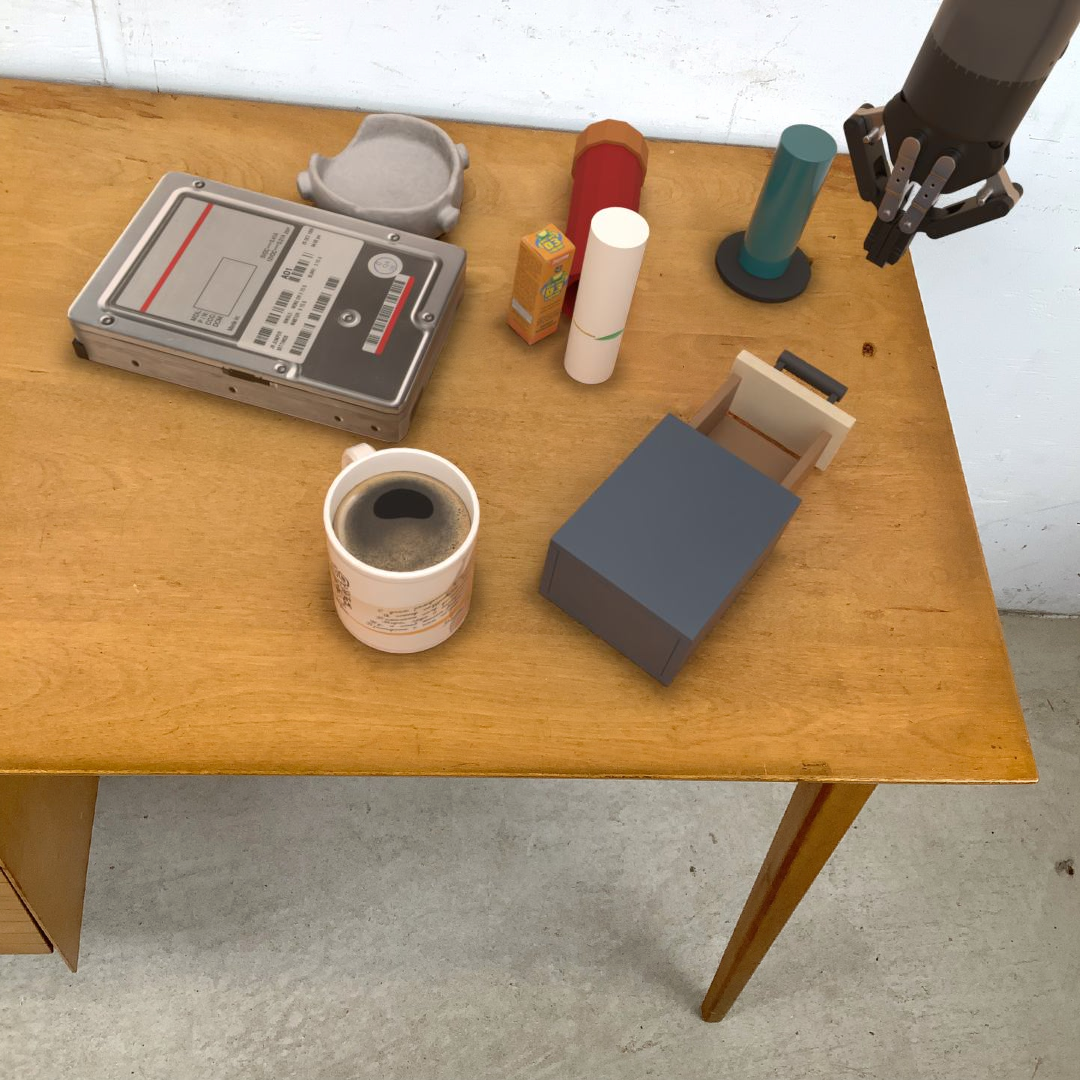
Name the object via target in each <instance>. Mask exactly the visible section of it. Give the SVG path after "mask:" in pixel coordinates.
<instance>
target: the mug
mask: <svg viewBox="0 0 1080 1080" xmlns="http://www.w3.org/2000/svg"><path fill="white" fill-rule="evenodd" d="M322 509H323V510H322V511H323V513H322V514H323V515H322V516H323V517H322V519H323V527H324V533H325V542H326V551H327V556H328V565H329V571H330V572H329V573H330V579H331V587H332V593H333V602H334V606H335V610H336V612H337V616H338V617H339V619H340V621H341V622H342V624H343V626H344V628H345V629H346V630H347V631H348V632H349V633H350V634H351V635H352V636H353V637H354V638H356V639H357V640H358V641H359V642H361V643H363V644H365V645H366V646H368V647H370V648H373V649H375V650H378V651H382V652H386V653H392V654H413V653H418V652H423V651H425V650H429V649H431V648H434V647H436V646H438V645H439V644H441V643H443V642H444V641H446V640H447V639H448V638H450V637H451V636H452V635H453V634H454V633H455V632H456V631H457V630H458V629H459V628H460V627H461V625H462V624H463V622H464V621H465V619H466V617H467V614H468V612H469V611H470V606H471V601H472V592H473V585H474V575H475V567H476V566H475V565H476V557H477V549H478V540H479V539H478V537H479V528H480V518H481V508H480V501H479V498H478V495H477V492H476V490H475V487H474V486H473V484H472V482H471V481H470V480H469V478H468V477H467V476H466V475H465V473H464V472H463V471H461V470H460V469H459V467H458V466H456V465H455V464H454V463H452V462H451V461H450V460H448V459H446V458H444V457H442V456H440V455H438V454H435V453H432V452H430V451H427V450H422V449H419V448H413V447H412V448H409V447H393V448H391V447H390V448H386V449H385V448H384V449H380V450H376V448H374V447H373V446H372V445H370V444H368V443H367V442H360V443H358V444H355V445H353V446H350V447H347V448H345V449H344V451H343V453H342V455H341V471H340V472H339V474H338V475H337V476H336V477H335V478H334V480H333V482H332V483H331V485H330V487H329V488H328V490H327V493H326V496H325V498H324V504H323V508H322Z"/></svg>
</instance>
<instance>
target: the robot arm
mask: <svg viewBox="0 0 1080 1080" xmlns="http://www.w3.org/2000/svg"><path fill="white" fill-rule="evenodd" d="M1079 25H1080V0H942V2H941V4H940V6H939V8H938V10H937V12H936V15H935V16H934V19H933V20H932V23H931V25H930V27H929V29H928V31H927V34H926V36H925V39H924V40H923V42H922V44H921V46H920V49H919V51H918V52H917V55H916V57H915V60H914V62H913V63H912V66H911V68H910V70H909V72H908V74H907V77H906V79H905V81H904V84H903V85H902V87H901V89H900V91H898V92H897V93H895V95H893V97H892V98H890V99H889V100H888V101H887V102H886V104H885V105H881V106H876V107H875V106H874V105H873V103H870V102H865V103H862V104H861V105H860V106H859V107H858V108H857V109H856V110H855V111H854V112H853V113H852V114H850V116H849V117H848V118H847V119H846V120H845V121H844V122H843V124H842V130H843V134H844V137H845V141H846V145H847V149H848V150H847V151H848V154H849V157H850V162H851V166H852V169H853V174H854V178H855V182H856V186H857V190H858V194H859V198H861V200H862V201H863V202H867V203H871V204H872V205H873V206H874V207H875V209H876V217H875V219H874V221H873V223H872V225H871V226H870V229H869V231H868V233H867V235H866V236H865V239H864V241H863V248H862V249H863V250H864V251H866V252H867V254H866V255H865V260H866V261H868V262H869V263H872V264H874V265H875V266H877V267H879V268H880V269H884V268H885V267H886V265H887V264H888V265H891V266H894V265H895V264H896V263H898V262H899V261H900V259H902V257H903V256H904V255H905V254H906V252H907V251H908V249H909V247H910V245H911V243H912V241H913V240H914V239H915V238H916V234H918V233H924V234H925V235H926V236H927V237H928V238H929V239H931V240H939V239H942V238H945V237H948V236H950V235H954V234H957V233H960V232H962V231H965V230H967V229H968V230H969V229H971V228H975V227H978V226H980V225H981V226H982V225H984V224H987V223H989V222H992V221H995V220H999V219H1001V218H1004V217H1006V216H1008V214H1009V213H1010V212H1011V210H1012V209H1013V208H1014V207H1015V206H1016V204H1018V202H1019V200H1020V199H1021V198H1022V196H1023V195H1024V187H1023V186H1022V185H1021V183H1019V182H1015V181H1014V182H1012V180H1011V178H1010V176H1009V173H1008V172H1007V169H1006V167H1005V165H1006V164H1007V162H1008V161H1009V159H1010V157H1011V142H1012V139H1013V136H1014V135H1015V134H1016V131H1017V129H1018V128H1019V126H1020V125H1021V123H1022V121H1023V120H1024V118H1025V116H1026V114H1027V113H1028V111H1029V110H1030V108H1031V107H1032V104H1033V103H1034V102H1035V100H1036V98H1037V97H1038V94H1039V93H1040V91H1041V89H1042V88H1043V86H1044V85H1045V83H1046V81H1047V80H1048V78H1049V76H1050V74H1051V73H1052V71H1053V69H1054V67H1055V66H1056V64H1057V62H1059V60H1060V59H1062V58H1063V56H1064V55H1065V53H1066V51H1067V49H1068V48H1069V44H1070V42H1071V39H1072V37H1073V36H1074V34H1075V32H1076V30H1077V29H1078V27H1079ZM884 135H885V139H886V144H887V149H888V155H889V160H890V162H891V165H892V167H893V168H892V171H890V167H889V162H888V158H887V154H886V149H885V145H884V139H883V136H884ZM983 181H985V183H984V184H983V185H982V186H981V187H980V188H979V190H978V191H977V192H976V194H975V195H973V196H970V197H968V198H965V199H962V200H959V201H956V202H954V203H951V204H948V205H946V206H945V205H944V207H937V206H935V205H937V203H938V201H939V200H940V198H941V197H942V196H943V195H950V194H954V193H957V192H958V191H962V190H963V189H966V188H968V187H971V186H973V185H975V184H979V183H980V182H983ZM917 184H918V185H919V186H920V187H919V189H918V191H917V192H916V194H915V196H914V197H913V198H912V200H911V202H910V199H911V197H912V195H913V192H914V190H915V187H916V185H917ZM909 202H910V204H909V206H908V208H907V210H905V207H906V206H907V204H908V203H909Z"/></svg>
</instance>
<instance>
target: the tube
mask: <svg viewBox="0 0 1080 1080" xmlns="http://www.w3.org/2000/svg"><path fill="white" fill-rule="evenodd" d="M649 236H650V227H649V224H648V222H647V221H646V219H645V218H644V217H643V216H642V215H641V214H637V213H636V212H634V211H632V210H629V209H626V208H621V207H611V208H606V209H603V210H601V211H599V212H598V213H596V214H595V215H594V217H593V219H592V222H591V227H590V232H589V237H588V242H587V247H586V252H585V257H584V262H583V267H582V272H581V277H580V282H579V287H578V292H577V298H576V303H575V308H574V313H573V318H572V319H571V324H570V329H569V334H568V337H567V338H568V339H567V343H566V349H565V354H564V359H563V366H564V369H565V371H566V373H567V375H568V376H569V377H570V378H572V379H574V380H575V381H577V382H579V383H581V384H586V385H597V384H602V383H604V382H606V381H607V380H608V379H610V377H611V376H612V375H613V372H614V370H615V366H616V362H617V357H618V354H619V351H620V346H621V344H622V343H621V342H622V339H623V335H624V331H625V327H626V324H627V320H628V316H629V312H630V308H631V304H632V300H633V297H634V293H635V289H636V285H637V283H638V277H639V274H640V270H641V268H642V267H641V266H642V262H643V259H644V255H645V252H646V247H647V243H648V239H649Z"/></svg>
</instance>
